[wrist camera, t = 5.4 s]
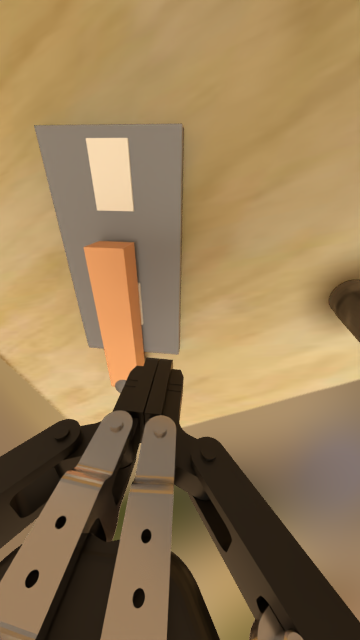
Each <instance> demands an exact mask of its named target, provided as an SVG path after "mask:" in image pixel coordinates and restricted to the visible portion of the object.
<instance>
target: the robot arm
mask: <svg viewBox="0 0 360 640" xmlns="http://www.w3.org/2000/svg"><path fill="white" fill-rule="evenodd" d="M182 393H183V375H182V372H181V370H175V369H173V360H168V359H157V358H146V360H145V363H144V366H136V367H135V368H134V369H133V370H131V371H130V373H129V376H128V378H127V380H126V383H125V385H124V387H123V389H122V392H121V394H120V396H119V398H118V401H117V403H116V405H115V408H114V410H113V412H111V413H109V414H108V415H107V416H105V417H104V419H103V420H102V421H101V422H98V423H95V424H89V425H84V426H80V425H79V423H78V422H77V421H76V420H73V419H66V420H62V421H59V422H57V423H56V424H54V425H52V426H51V427H49V428H47V429H46V430H44V431H42V432H41V433H39V434H37V435H36V436H34V437H32V438H31V439H29V440H27V441H26V442H24V443H22V444H21V445H19V446H17V447H16V448H14V449H12V450H11V451H9V452H8V453H6V454H4V455H3V456H1V457H0V548H1V547H3V546H4V545H5V544H6V543H8V542H9V541H10V540H11V539H12V538H13V537H15V536H16V535H17V534H18V533H20V532H21V531H22V530H23V529H24V528H26V527H27V526H28V525H29V524H30V523H32V522H33V521H34V520H35V519H36V518H38V519H37V521H36V522H35V524H34V525H33V527H32V529H31V531H30V532H29V534H28V536H27V538H26V539H25V541H24V542H23V544H22V545H21V546H19V547H18V548H16V549H15V550H14V551H12V552H11V553H10V554H9V555H8V556H7V557H5V558H4V559H3V560H2V561H1V562H0V640H220V639H219V636H218V634H217V631H216V629H215V626H214V624H213V622H212V619H211V616H210V614H209V612H208V609H207V607H206V604H205V602H204V600H203V597H202V595H201V592H200V589H199V587H198V585H197V582H196V581H195V579H194V577H193V575H192V573H191V572H190V570H189V569H188V567H187V566H186V565H185V564H184V562H183V561H182V560H181V559H180V558H179V557H178V556H177V555H176V554H174V553H173V552H171V534H172V513H173V491H174V485H176V486H178V487H179V488H181V489H183V490H184V491H186V492H188V494H189V497H190V499H191V500H192V502H193V504H194V506H195V508H196V510H197V512H198V513H199V515H200V517H201V519H202V521H203V522H204V524H205V526H206V528H207V530H208V532H209V534H210V536H211V537H212V539H213V541H214V543H215V545H216V547H217V549H218V551H219V552H220V554H221V556H222V558H223V560H224V562H225V564H226V565H227V567H228V569H229V571H230V573H231V575H232V576H233V578H234V580H235V582H236V584H237V586H238V588H239V590H240V591H241V593H242V595H243V597H244V599H245V600H246V602H247V604H248V606H249V608H250V610H251V612H252V614H253V615H254V617H255V621H254V622H253V625H252V627H251V631H250V637H249V640H360V622H359V621H358V620H357V618H356V617H355V616H354V614H353V613H352V612H351V610H350V609H349V608H348V606H347V605H346V604H345V603H344V601H343V600H342V599H341V598H340V596H339V595H338V594H337V592H336V591H335V590H334V589H333V587H332V586H331V585H330V584H329V582H328V581H327V579H326V578H325V577H324V576H323V574H322V573H321V572H320V570H319V569H318V568H317V567H316V565H315V564H314V563H313V561H312V560H311V559H310V558H309V556H308V555H307V554H306V552H305V551H304V550H303V549H302V548H301V546H300V545H299V544H298V542H297V541H296V540H295V538H294V537H293V536H292V534H291V533H290V532H289V531H288V529H287V528H286V527H285V525H284V524H283V523H282V522H281V520H280V519H279V518H278V516H277V515H276V514H275V513H274V511H273V510H272V509H271V507H270V506H269V505H268V504H267V502H266V501H265V500H264V498H263V497H262V496H261V495H260V493H259V492H258V491H257V489H256V488H255V487H254V486H253V484H252V483H251V482H250V480H249V479H248V478H247V477H246V475H245V474H244V473H243V472H242V470H241V469H240V468H239V466H238V465H237V464H236V462H235V461H234V460H233V459H232V457H231V456H230V455H229V453H228V452H227V451H226V450H225V448H224V447H223V446H222V445H221V443H220V442H218V441H217V440H216V439H214V438H210V437H202V438H199V439H196V438H194V437H192V436H190V435H188V434H187V433H185V432H184V431H183V430H182V428H181V426H180V424H179V420H180V411H181V403H182ZM139 443H141V449H140V454H139V460H138V465H137V471H136V476H135V479H134V481H133V482H132V485H131V488H130V492H129V497H128V502H127V508H126V512H125V517H124V523H123V528H122V533H121V538H120V540H117V541H112V540H113V537H114V534H115V530H116V526H117V522H118V516H119V510H120V506H121V503H122V500H123V497H124V494H125V491H126V488H127V485H128V483H129V479H130V476H131V474H132V471H133V468H134V465H135V462H136V454H137V450H138V447H139Z"/></svg>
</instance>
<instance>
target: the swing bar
mask: <svg viewBox="0 0 360 640" xmlns="http://www.w3.org/2000/svg"><path fill="white" fill-rule="evenodd" d="M83 248H84V252H85V257H86V262H87V267H88V272H89V277H90V282H91V287H92V292H93V297H94V302H95V306H96V311H97V316H98V321H99V326H100V331H101V336H102V341H103V346H104V351H105V356H106V360H107V365H108V370H109V375H110V380H111V385H112V386H115V388H116V389H117V391H118V392H120V393H121V392H122V389H123V387H124V385H125V383H126V380H127V378H128V376H129V373H130V371H131V370H133V369H134V368H135V367H136V366H144V363H145V361H144V349H143V338H142V326H141V315H140V304H139V292H138V281H137V269H136V258H135V247H134V242H111V241H98V242H95V243H93V244H90V245H88V246H85V247H83Z"/></svg>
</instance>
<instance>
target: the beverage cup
mask: <svg viewBox="0 0 360 640" xmlns="http://www.w3.org/2000/svg"><path fill="white" fill-rule="evenodd" d="M329 305H330V307H331V309H333V311H334V312H335V314H336V315H337V317H338V318H339V319H340V320H341V321H342V322H343V324H344V325H345V326H346V327H347V328H348V329H349V331H350V332H351V333H352V334H353V335H354V336H355V338H356V339H357V340H358V341H359V342H360V280H350V281H346V282H344V283H342V284H340V285H339V286H338V287H336V288H335V289H334V290H333V292H332V293H331V295H330V298H329Z"/></svg>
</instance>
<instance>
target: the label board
mask: <svg viewBox="0 0 360 640" xmlns="http://www.w3.org/2000/svg"><path fill="white" fill-rule="evenodd" d="M34 127H35V131H36V135H37V139H38V143H39V147H40V151H41V155H42V159H43V163H44V167H45V171H46V176H47V180H48V184H49V188H50V192H51V196H52V200H53V204H54V208H55V212H56V216H57V220H58V224H59V228H60V232H61V236H62V240H63V244H64V248H65V252H66V256H67V260H68V265H69V269H70V273H71V277H72V281H73V285H74V289H75V293H76V297H77V301H78V305H79V309H80V313H81V317H82V321H83V325H84V329H85V333H86V337H87V341H88V345H89V347H91V348H104V346H103V341H102V336H101V331H100V326H99V321H98V316H97V311H96V306H95V302H94V297H93V292H92V287H91V282H90V277H89V272H88V267H87V262H86V257H85V252H84V248H83V247H85V246H88V245H90V244H93V243H95V242H98V241H111V242H134V247H135V258H136V269H137V281H138V292H139V304H140V315H141V326H142V338H143V349H144V352H153V353H166V354H179V349H180V299H181V246H182V193H183V139H184V128H183V125H182V124H112V125H34ZM145 360H146V358H145V356H144V361H145Z"/></svg>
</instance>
